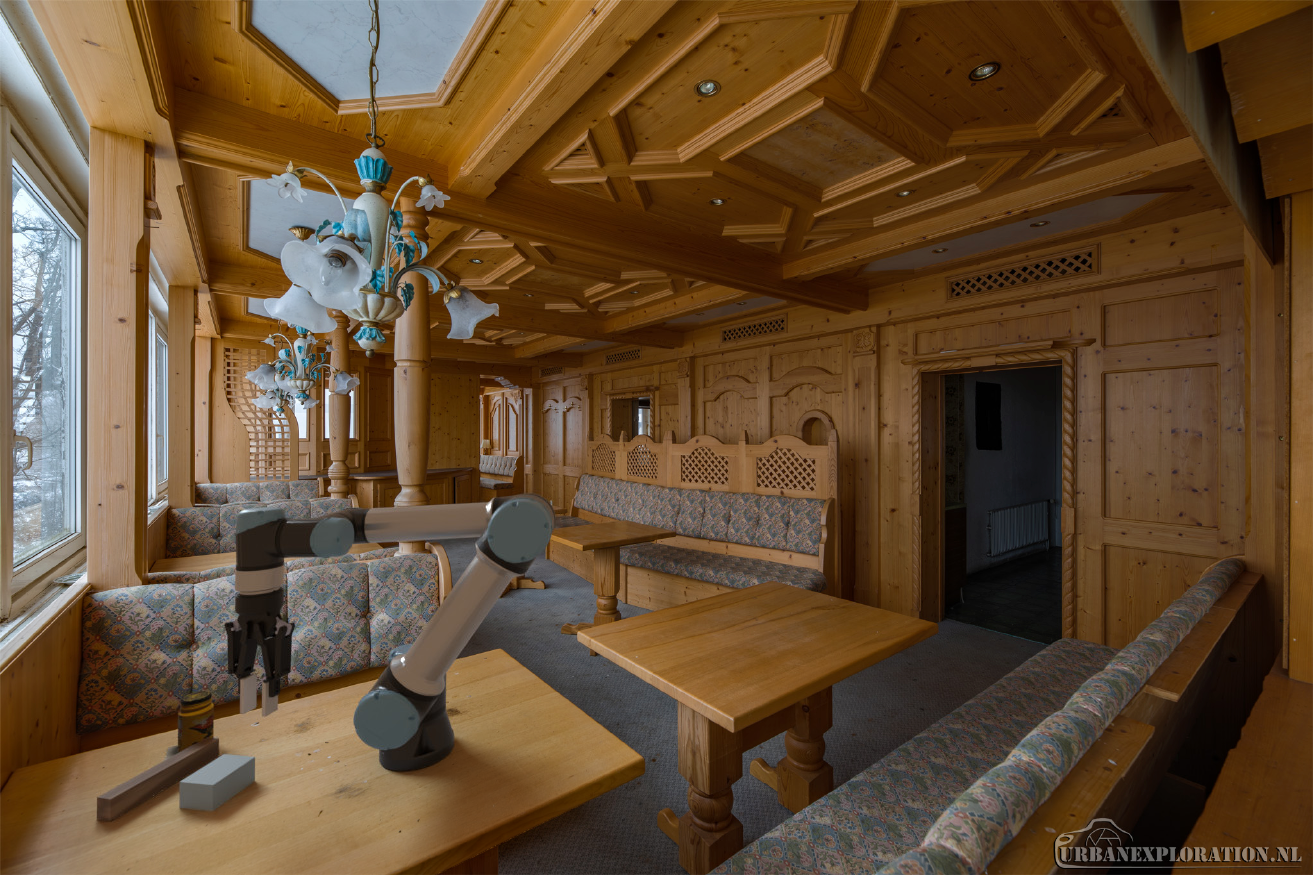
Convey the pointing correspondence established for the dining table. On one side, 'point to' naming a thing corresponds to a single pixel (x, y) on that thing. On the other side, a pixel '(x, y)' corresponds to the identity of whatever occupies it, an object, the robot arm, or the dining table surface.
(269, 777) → the dining table surface
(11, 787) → the dining table surface
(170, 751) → the condiment
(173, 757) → the board
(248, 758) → the block
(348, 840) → the dining table surface
